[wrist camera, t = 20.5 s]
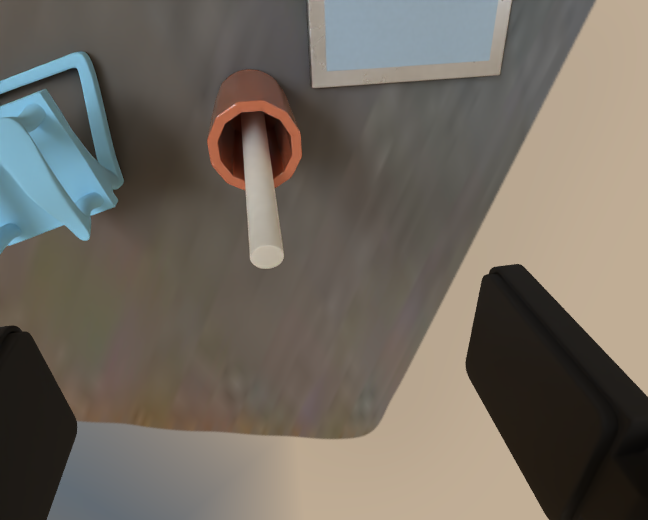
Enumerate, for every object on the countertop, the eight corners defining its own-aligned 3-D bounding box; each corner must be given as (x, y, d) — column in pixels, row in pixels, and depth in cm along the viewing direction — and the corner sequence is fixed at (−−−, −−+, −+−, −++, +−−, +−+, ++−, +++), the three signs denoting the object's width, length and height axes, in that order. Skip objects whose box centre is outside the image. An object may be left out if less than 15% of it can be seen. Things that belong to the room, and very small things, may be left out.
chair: (53, 209, 31) (-34, 318, 21) (-34, 93, 27) (-198, 161, 17) (155, 172, 31) (115, 264, 21) (84, 48, 26) (-10, 89, 16)
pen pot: (210, 71, 28) (200, 104, 21) (283, 66, 29) (298, 97, 21) (222, 142, 31) (216, 195, 23) (288, 137, 31) (304, 187, 24)
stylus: (237, 82, 28) (248, 247, 18) (260, 81, 28) (283, 243, 18) (240, 103, 29) (252, 270, 19) (262, 102, 29) (284, 267, 19)
